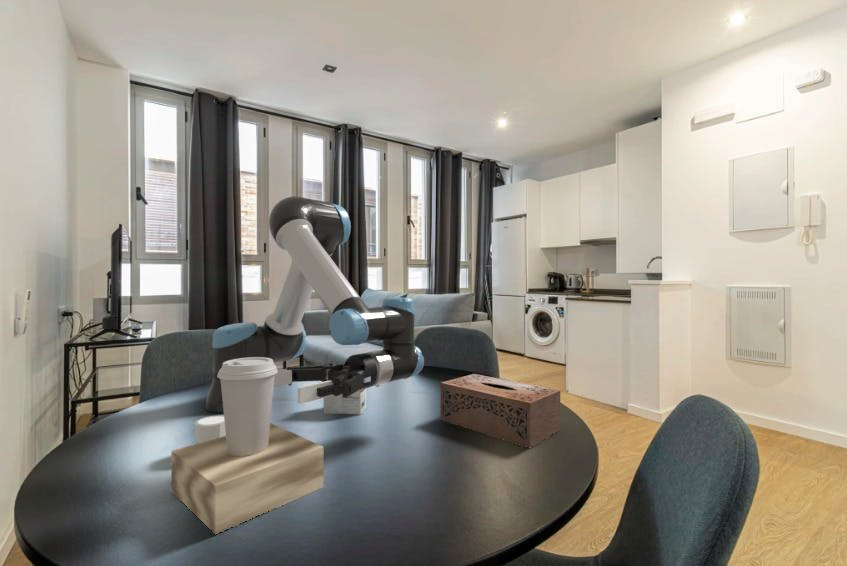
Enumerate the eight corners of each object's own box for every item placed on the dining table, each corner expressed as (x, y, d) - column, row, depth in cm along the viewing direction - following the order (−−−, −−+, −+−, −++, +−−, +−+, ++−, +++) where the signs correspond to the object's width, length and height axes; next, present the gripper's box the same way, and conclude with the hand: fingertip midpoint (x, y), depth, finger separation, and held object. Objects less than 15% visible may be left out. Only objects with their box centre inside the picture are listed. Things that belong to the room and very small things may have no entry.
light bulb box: (367, 407, 115) (367, 369, 115) (361, 415, 109) (361, 375, 109) (330, 406, 116) (330, 369, 116) (322, 414, 110) (322, 374, 110)
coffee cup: (219, 442, 72) (219, 358, 72) (276, 434, 76) (276, 355, 76) (214, 464, 63) (214, 369, 63) (278, 455, 67) (279, 364, 67)
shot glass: (193, 463, 80) (193, 427, 80) (194, 450, 86) (194, 417, 86) (231, 456, 83) (231, 422, 83) (230, 444, 89) (230, 412, 89)
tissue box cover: (560, 431, 98) (560, 390, 98) (530, 449, 87) (530, 403, 87) (473, 408, 115) (473, 373, 115) (440, 421, 105) (440, 382, 105)
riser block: (171, 492, 69) (171, 450, 69) (271, 457, 82) (271, 423, 82) (215, 535, 57) (215, 485, 57) (323, 487, 70) (323, 446, 70)
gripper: (408, 397, 81) (318, 425, 65) (333, 378, 98) (246, 396, 82) (408, 360, 81) (318, 378, 65) (333, 346, 98) (246, 359, 82)
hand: (278, 388), depth 73 cm, fingers open, 13 cm apart
